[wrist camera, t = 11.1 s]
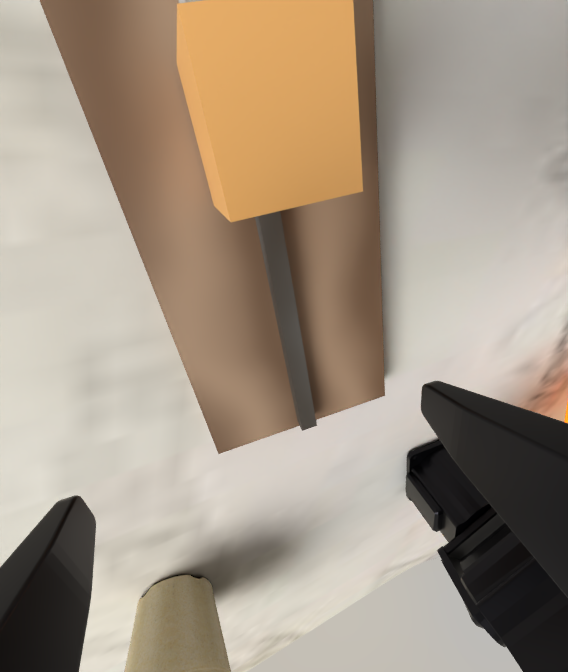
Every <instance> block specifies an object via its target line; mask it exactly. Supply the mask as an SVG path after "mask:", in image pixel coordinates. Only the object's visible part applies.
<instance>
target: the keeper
mask: <svg viewBox="0 0 568 672" xmlns="http://www.w3.org/2000/svg"><path fill="white" fill-rule="evenodd" d="M177 67H178V71H179V75H180V79H181V83H182V86H183V90H184V94H185V98H186V102H187V105H188V109H189V113H190V117H191V121H192V124H193V128H194V132H195V136H196V140H197V143H198V147H199V151H200V155H201V159H202V162H203V166H204V170H205V174H206V178H207V181H208V185H209V189H210V193H211V197H212V200H213V204H214V206H215V207H216V208H217V209H218V210H219V211H220V212H221V213H222V214H223V215H224V216H225V217H226V218H227V219H228V220H229V221H230V222H235V221H239V220H243V219H248V218H252V217H256V216H260V215H265V214H269V213H273V212H277V211H282V210H286V209H290V208H295V207H299V206H303V205H307V204H312V203H316V202H320V201H324V200H329V199H333V198H337V197H341V196H346V195H350V194H354V193H358V192H363V180H362V161H361V142H360V122H359V103H358V83H357V64H356V45H355V25H354V6H353V0H203V1H195V2H187V3H178V4H177Z"/></svg>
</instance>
